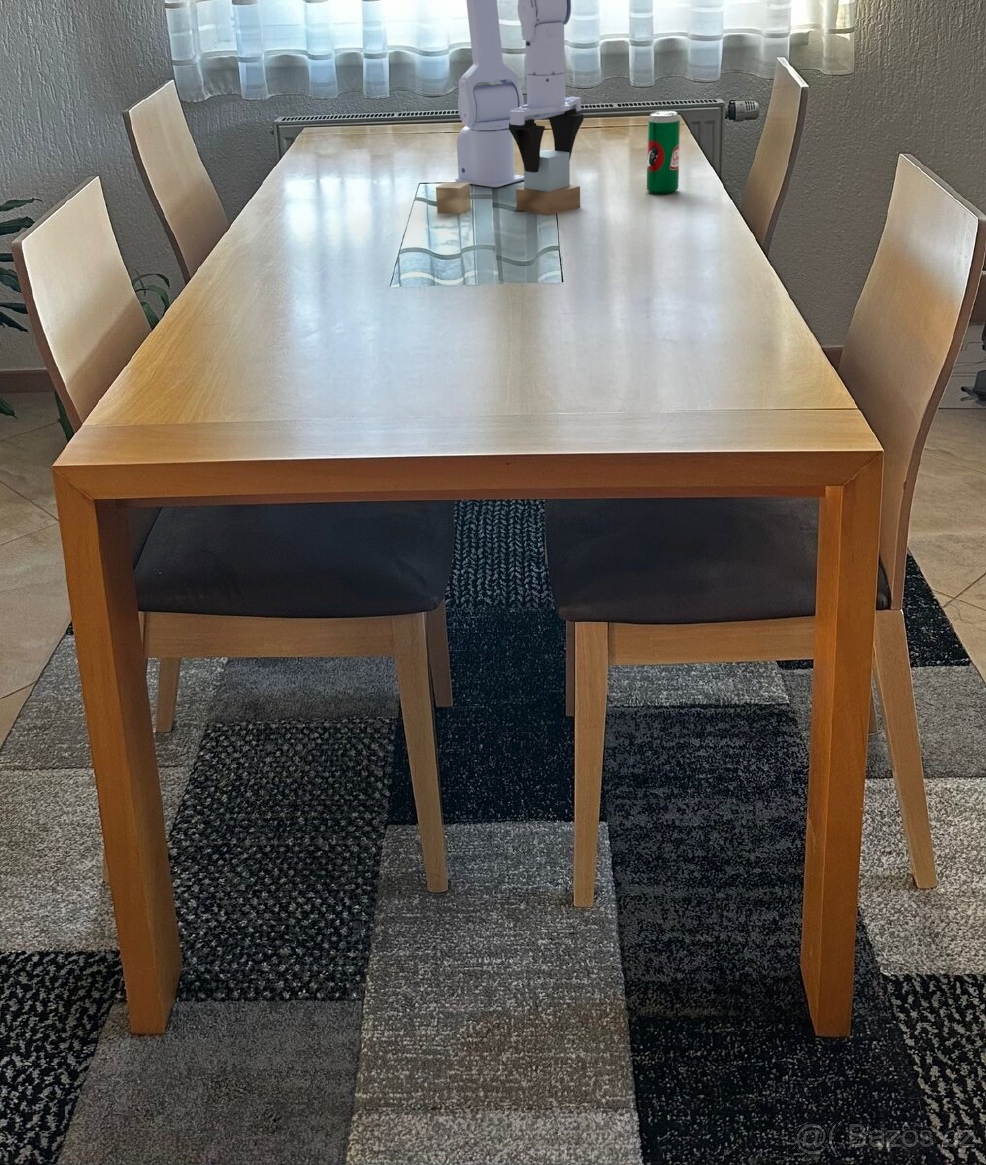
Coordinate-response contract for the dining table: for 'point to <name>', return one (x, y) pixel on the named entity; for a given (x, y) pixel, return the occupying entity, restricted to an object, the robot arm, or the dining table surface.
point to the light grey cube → (549, 172)
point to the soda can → (663, 152)
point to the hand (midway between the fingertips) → (547, 167)
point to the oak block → (453, 197)
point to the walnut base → (548, 200)
